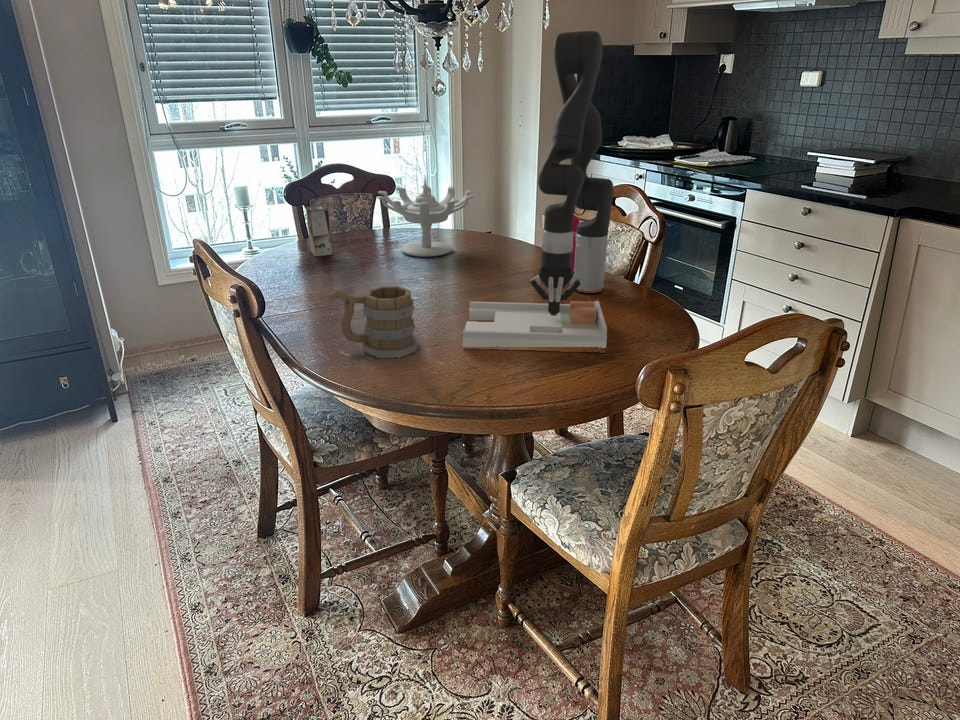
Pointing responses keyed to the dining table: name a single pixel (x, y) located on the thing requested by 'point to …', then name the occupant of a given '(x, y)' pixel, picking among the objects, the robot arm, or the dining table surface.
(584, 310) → the block
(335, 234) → the dining table surface
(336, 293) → the tankard
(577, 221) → the pepper mill
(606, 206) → the robot arm
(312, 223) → the coffee box
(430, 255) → the candelabra
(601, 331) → the box
